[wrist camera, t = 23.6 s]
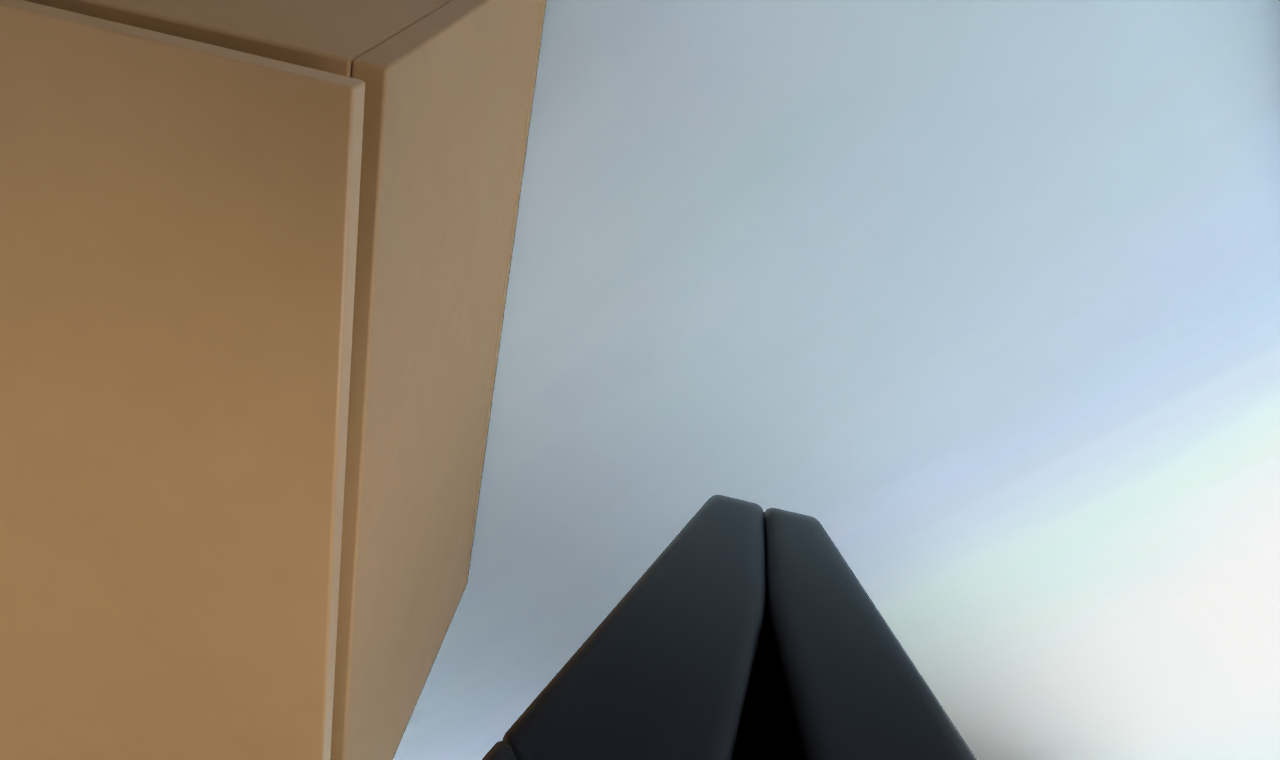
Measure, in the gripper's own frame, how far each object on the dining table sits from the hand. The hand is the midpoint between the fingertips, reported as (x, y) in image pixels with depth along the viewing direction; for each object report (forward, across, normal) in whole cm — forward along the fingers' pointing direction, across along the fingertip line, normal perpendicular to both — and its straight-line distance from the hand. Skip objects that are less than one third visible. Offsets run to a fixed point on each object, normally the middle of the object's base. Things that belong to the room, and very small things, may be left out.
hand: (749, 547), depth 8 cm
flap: (+4, +8, +5) cm, 10 cm away
